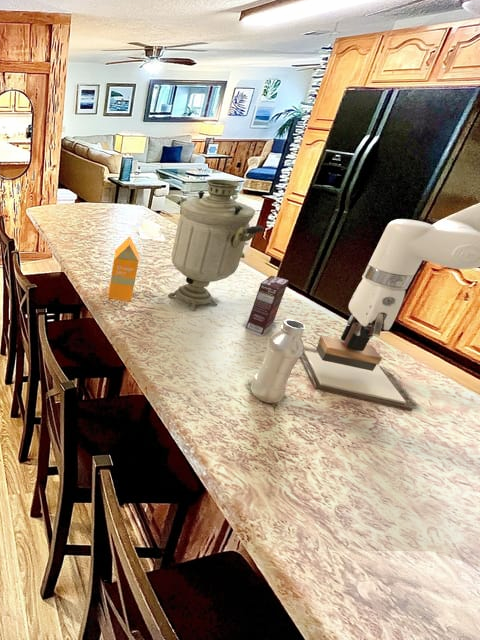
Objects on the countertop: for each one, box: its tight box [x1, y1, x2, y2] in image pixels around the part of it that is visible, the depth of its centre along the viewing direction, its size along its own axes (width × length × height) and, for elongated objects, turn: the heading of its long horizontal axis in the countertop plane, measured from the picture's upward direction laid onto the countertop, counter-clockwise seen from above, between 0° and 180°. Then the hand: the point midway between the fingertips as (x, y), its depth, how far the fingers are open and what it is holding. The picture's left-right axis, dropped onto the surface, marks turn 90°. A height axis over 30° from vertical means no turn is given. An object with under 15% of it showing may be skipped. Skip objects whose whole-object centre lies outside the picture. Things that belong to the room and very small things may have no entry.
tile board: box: [299, 350, 414, 412], centre depth 96 cm, size 18×16×1 cm
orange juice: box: [107, 235, 140, 302], centre depth 130 cm, size 8×9×20 cm
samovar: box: [167, 178, 265, 312], centre depth 122 cm, size 30×26×40 cm
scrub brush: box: [315, 322, 383, 371], centre depth 92 cm, size 10×5×10 cm, turn 68°
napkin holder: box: [138, 220, 166, 241], centre depth 191 cm, size 15×11×6 cm
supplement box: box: [244, 275, 289, 337], centre depth 112 cm, size 9×5×16 cm, turn 130°
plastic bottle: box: [250, 319, 306, 404], centre depth 85 cm, size 6×7×20 cm
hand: (351, 344), depth 93 cm, fingers closed on scrub brush, 2 cm apart
